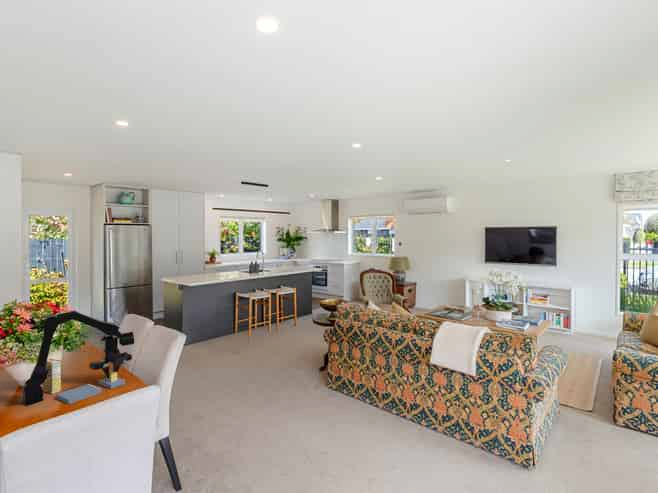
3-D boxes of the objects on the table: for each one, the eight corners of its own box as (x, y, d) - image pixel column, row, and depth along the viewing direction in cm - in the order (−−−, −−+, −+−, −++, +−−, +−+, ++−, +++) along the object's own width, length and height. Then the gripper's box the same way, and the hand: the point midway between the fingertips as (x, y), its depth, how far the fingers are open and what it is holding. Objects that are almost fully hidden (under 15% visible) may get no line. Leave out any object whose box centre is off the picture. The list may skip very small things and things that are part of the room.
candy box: (41, 391, 173) (41, 360, 173) (51, 388, 177) (51, 358, 177) (52, 394, 170) (51, 363, 169) (61, 390, 173) (61, 360, 173)
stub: (111, 388, 175) (110, 376, 175) (98, 384, 181) (98, 372, 181) (125, 383, 181) (124, 372, 181) (112, 379, 187) (112, 368, 187)
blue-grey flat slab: (68, 404, 159) (68, 399, 159) (56, 398, 165) (56, 393, 165) (101, 392, 171) (101, 388, 171) (88, 387, 177) (88, 383, 177)
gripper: (100, 355, 169) (100, 387, 169) (137, 345, 185) (138, 374, 185) (88, 351, 174) (88, 382, 174) (125, 342, 191) (126, 370, 191)
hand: (111, 377), depth 181 cm, fingers closed on stub, 3 cm apart
